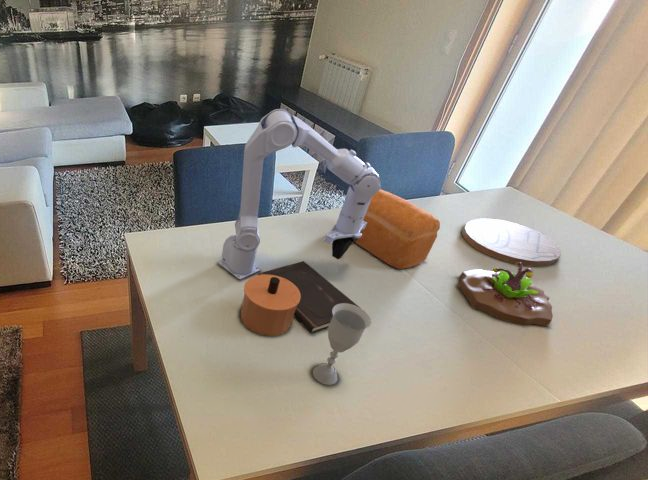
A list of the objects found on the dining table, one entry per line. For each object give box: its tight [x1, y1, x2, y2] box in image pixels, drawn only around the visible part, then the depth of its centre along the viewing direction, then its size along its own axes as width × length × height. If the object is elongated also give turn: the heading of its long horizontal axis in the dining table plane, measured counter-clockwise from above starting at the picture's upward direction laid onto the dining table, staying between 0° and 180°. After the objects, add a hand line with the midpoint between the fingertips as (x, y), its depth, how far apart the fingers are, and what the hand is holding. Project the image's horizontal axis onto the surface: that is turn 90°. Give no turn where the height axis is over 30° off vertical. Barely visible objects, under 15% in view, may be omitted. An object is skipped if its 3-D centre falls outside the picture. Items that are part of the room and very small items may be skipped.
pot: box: [240, 292, 297, 337], centre depth 99 cm, size 12×12×8 cm
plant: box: [458, 262, 553, 327], centre depth 103 cm, size 20×20×11 cm
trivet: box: [461, 218, 562, 267], centre depth 128 cm, size 25×25×2 cm
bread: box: [354, 188, 441, 270], centre depth 123 cm, size 14×26×16 cm, turn 24°
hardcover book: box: [257, 260, 361, 334], centre depth 107 cm, size 16×23×2 cm
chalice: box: [312, 303, 372, 386], centre depth 82 cm, size 7×7×18 cm
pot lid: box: [243, 274, 301, 311], centre depth 95 cm, size 13×13×5 cm
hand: (336, 256), depth 111 cm, fingers closed
